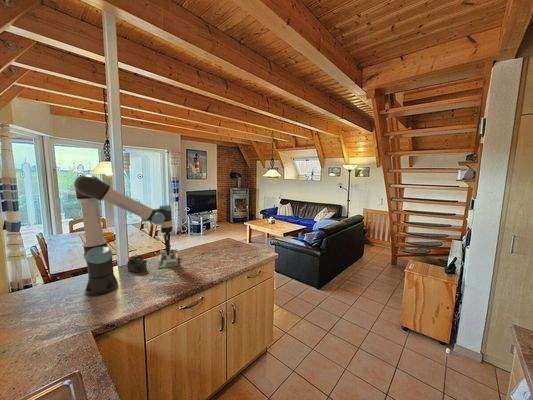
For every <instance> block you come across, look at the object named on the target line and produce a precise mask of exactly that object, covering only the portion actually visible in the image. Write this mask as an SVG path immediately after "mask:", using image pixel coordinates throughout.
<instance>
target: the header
mask: <svg viewBox="0 0 533 400" xmlns="http://www.w3.org/2000/svg"><path fill="white" fill-rule="evenodd" d="M165 250H166V249H165ZM165 250H164V249H163V250H159V257H158V264H157V269H158V270H159V269H166V268H168V269H169V268H174V267H175V268H176V267H179V255H178V248H173V249H171V248H170V250H174V252H175V257H174V259H169V260H164V258H163V252H164V251H165Z"/></svg>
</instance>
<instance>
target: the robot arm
mask: <svg viewBox="0 0 533 400" xmlns="http://www.w3.org/2000/svg"><path fill="white" fill-rule="evenodd" d="M73 187H74V189H75V195H76V200H78V202H80V208H81V214H82V221H83V228H84V236H85V243H84V244H83V245H82V247H83V251H84V252H83V258H84V260H85V262H86V267H87V275H88V278H87V283H86V287H85V295H87V296H89V297H97V296H102V295H106V294H110V293H112V292H113V291H115V290H117V289H118V287H119V281H118V280H117V278H116V275H115V274H114V263H113V251H112V248H110V247H108V245H109V244H108V240H107V239H105V238H104V230H103V224H102V215H101V207H100V202H102V201H104V202H107V203H109V204H111V205H114V207H115V206H116V207H117V208H120V209H122V210H124V211H127V212H128V213H131V214H133V215H135V216H137V217H140V219H141V221H142V222H150V223H152V224H154V225H160V231H161V233H162V234H163V237H164V241H165V242H164V244H165V245H164V246H165V251H166V260H168V259H171V258H170V250H171V248H172V245H171V233H173V231H174V230H173V223H174V221H173V220H172V216H173V215H172V212H173V211H172V206H171V205H170V204H160V205H159V208H151V207H150V206H147V205H145V204H143V203H142V202H139V201H137V200H135V199H133V198H132V197H129V196H127V195H125V194H124V193H121V192H119V191H117V190H115V189H113V188H112V186H111V185H109V184H107V183H105V181H103V180H101V179H100V178H98V177H97V176H95V175H92V174H82V175H80V176H78V177H76V178H75V180H74V183H73Z"/></svg>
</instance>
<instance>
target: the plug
mask: <svg viewBox="0 0 533 400" xmlns="http://www.w3.org/2000/svg"><path fill="white" fill-rule="evenodd" d="M174 257H175V252H174V250H171V249H170V258H171V259H174ZM163 258H164V260H166V251H164V252H163ZM168 260H169V259H168Z"/></svg>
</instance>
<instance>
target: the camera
mask: <svg viewBox="0 0 533 400" xmlns="http://www.w3.org/2000/svg"><path fill="white" fill-rule="evenodd" d="M143 258H144V255H141V254H139V255H133V256H132V257H131V258H130V259H129V260H128V261H127V270H128V271H131V272H133V273H134V272H135V273H138V274H139V273H140V274H141V273H144V272H147V267H148V266H147V262H148V261H147V260H146V259H143Z"/></svg>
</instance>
